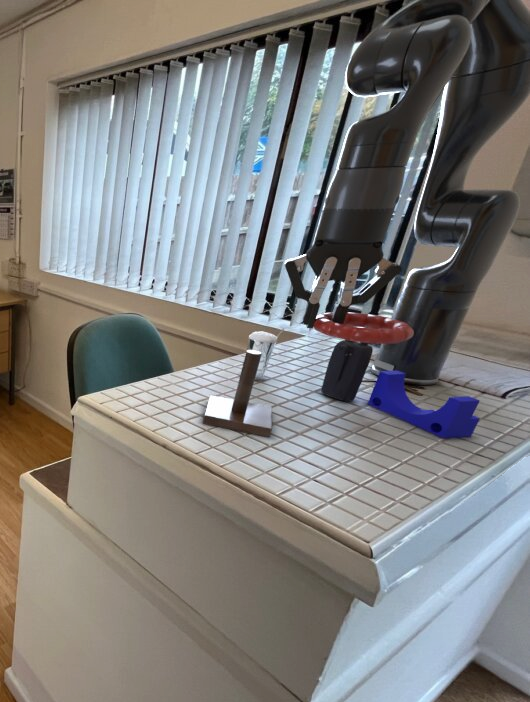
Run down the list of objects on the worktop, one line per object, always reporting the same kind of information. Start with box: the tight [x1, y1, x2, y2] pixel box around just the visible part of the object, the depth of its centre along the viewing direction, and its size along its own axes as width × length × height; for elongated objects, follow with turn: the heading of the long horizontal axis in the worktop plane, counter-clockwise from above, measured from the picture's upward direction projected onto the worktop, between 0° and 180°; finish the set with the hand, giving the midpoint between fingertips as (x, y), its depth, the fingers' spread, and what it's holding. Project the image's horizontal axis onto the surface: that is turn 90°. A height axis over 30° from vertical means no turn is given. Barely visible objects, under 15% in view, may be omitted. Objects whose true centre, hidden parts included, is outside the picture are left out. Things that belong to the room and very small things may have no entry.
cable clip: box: [367, 370, 481, 439], centre depth 72 cm, size 12×4×6 cm, turn 5°
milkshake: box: [246, 327, 285, 381], centre depth 88 cm, size 4×5×10 cm
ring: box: [313, 311, 414, 345], centre depth 67 cm, size 11×11×2 cm
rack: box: [202, 350, 273, 438], centre depth 72 cm, size 9×9×12 cm
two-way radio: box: [320, 339, 374, 402], centre depth 78 cm, size 6×4×15 cm
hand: (320, 327), depth 69 cm, fingers closed on ring, 2 cm apart
